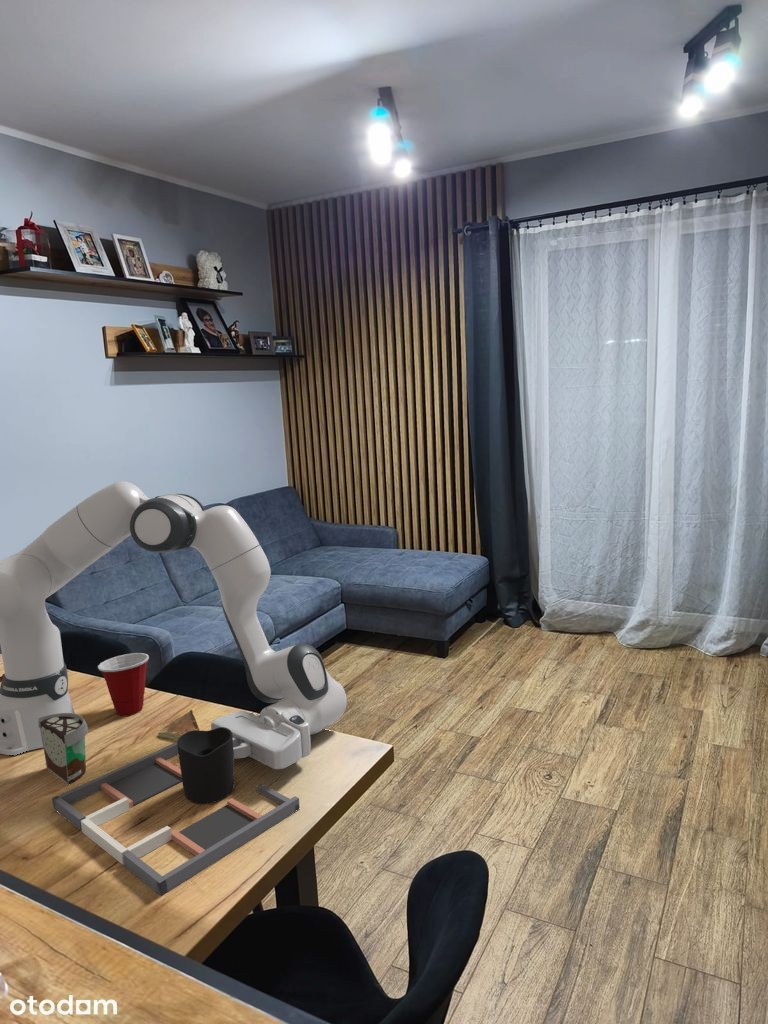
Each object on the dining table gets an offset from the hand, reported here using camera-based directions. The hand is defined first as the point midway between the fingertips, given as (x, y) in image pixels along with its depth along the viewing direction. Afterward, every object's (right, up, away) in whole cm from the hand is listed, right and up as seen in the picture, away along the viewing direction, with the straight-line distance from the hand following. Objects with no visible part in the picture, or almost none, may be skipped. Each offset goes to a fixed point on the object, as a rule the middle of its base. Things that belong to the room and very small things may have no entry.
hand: (220, 755), depth 124 cm
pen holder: (-2, -6, -1) cm, 6 cm away
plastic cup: (-28, -1, +33) cm, 43 cm away
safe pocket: (-12, -8, -13) cm, 20 cm away
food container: (-30, -6, +8) cm, 31 cm away
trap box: (-6, -7, -7) cm, 11 cm away
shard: (-14, -3, +23) cm, 27 cm away
